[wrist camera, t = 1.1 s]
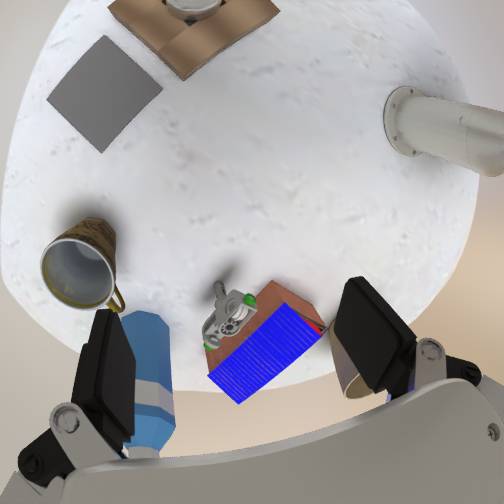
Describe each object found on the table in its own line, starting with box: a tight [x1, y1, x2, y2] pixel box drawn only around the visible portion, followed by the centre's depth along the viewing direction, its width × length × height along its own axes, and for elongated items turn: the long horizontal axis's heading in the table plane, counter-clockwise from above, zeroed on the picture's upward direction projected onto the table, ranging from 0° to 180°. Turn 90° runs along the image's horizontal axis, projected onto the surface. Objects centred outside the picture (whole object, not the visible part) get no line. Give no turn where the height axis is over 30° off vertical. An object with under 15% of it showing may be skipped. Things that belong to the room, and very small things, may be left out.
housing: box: [107, 0, 280, 81], centre depth 21 cm, size 14×14×5 cm
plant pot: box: [329, 319, 374, 400], centre depth 50 cm, size 15×15×16 cm
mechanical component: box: [202, 282, 258, 351], centre depth 39 cm, size 3×10×10 cm, turn 141°
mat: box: [46, 35, 163, 153], centre depth 25 cm, size 11×12×1 cm
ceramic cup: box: [40, 218, 125, 313], centre depth 31 cm, size 13×10×10 cm
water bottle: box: [121, 311, 176, 459], centre depth 34 cm, size 9×9×25 cm
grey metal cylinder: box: [166, 0, 222, 27], centre depth 19 cm, size 6×6×10 cm
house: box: [205, 280, 328, 404], centre depth 46 cm, size 12×20×12 cm, turn 139°
